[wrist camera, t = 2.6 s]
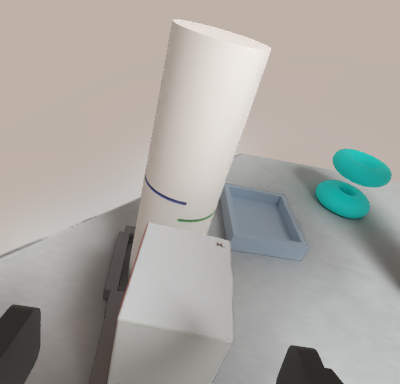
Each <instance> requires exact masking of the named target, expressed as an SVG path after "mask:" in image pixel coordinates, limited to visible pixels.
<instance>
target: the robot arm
mask: <svg viewBox="0 0 400 384" xmlns="http://www.w3.org/2000/svg"><path fill="white" fill-rule="evenodd" d="M40 320H41V313H40V309H39V308H35V307H28V306H21V305H12V306H11V307H9V309H8V310H7V311H6V312H5V313H4V315H3V316H2V317H1V318H0V384H24V382H25V381H26V379H27V377H28V375H29V374H30V372H31V370H32V368H33V366H34V364H35V362H36V360H37V357H38V354H39V350H40ZM276 384H343V383H342V381H341V380H340V379H339V378H338V377H337V375H336V374H335V373H334V372H333V370H332V369H328V368H324V366H323V364H322V361H321V359H320V357H319V354H318V352H317V351H316V350H315V349H314V348H307V347H300V346H293V345H291V346H290V347H289V348H288V351H287V353H286V356H285V359H284V361H283V364H282V366H281V369H280V372H279V374H278V377H277V381H276Z"/></svg>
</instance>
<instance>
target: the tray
mask: <svg viewBox="0 0 400 384" xmlns="http://www.w3.org/2000/svg"><path fill="white" fill-rule="evenodd" d="M220 203H221V209H222V216H223V222H224V228H225V234H226V240H229V241H230V242H231V250H235V251H241V252H248V253H254V254H260V255H267V256H273V257H279V258H285V259H292V260H298V261H301V260H302V258H303V257H304V255H305V253H306V252H307V250H308V248H309V246H308V244H307V242H306V240H305V238H304V236H303V234H302V231H301V229H300V227H299V225H298V223H297V221H296V219H295V217H294V214H293V212H292V210H291V208H290V206H289V204H288V202H287V199H286V197H285V195H284V194H279V193H274V192H269V191H264V190H258V189H253V188H248V187H243V186H238V185H233V184H228V183H225V184H224V187H223V190H222V193H221V196H220Z"/></svg>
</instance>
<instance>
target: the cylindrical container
mask: <svg viewBox="0 0 400 384" xmlns="http://www.w3.org/2000/svg"><path fill="white" fill-rule="evenodd" d="M270 52H271V48H270V47H269V46H267V45H265V44H263V43H260V42H258V41H256V40H253V39H250V38H248V37H245V36H242V35H239V34H236V33H233V32H230V31H226V30H223V29H219V28H216V27H212V26H208V25H204V24H200V23H196V22H191V21H186V20H177V19H174V20H173V21H172V26H171V32H170V38H169V44H168V49H167V55H166V60H165V66H164V71H163V77H162V82H161V88H160V94H159V100H158V105H157V111H156V116H155V122H154V128H153V133H152V138H151V145H150V150H149V156H148V161H147V166H146V173H145V178H144V183H143V189H142V194H141V200H140V206H139V211H138V217H137V222H136V228H135V234H134V239H133V245H132V251H131V256H130V262H129V267H128V278H130V275H131V271H132V268H133V265H134V262H135V259H136V256H137V253H138V250H139V246H140V243H141V240H142V237H143V234H144V231H145V228H146V225H147V223H148V222H151V223H155V224H160V225H165V226H170V227H174V228H178V229H183V230H188V231H192V232H196V233H201V234H205V235H207V233H208V230H209V228H210V225H211V222H212V219H213V216H214V213H215V210H216V207H217V205H218V202H219V199H220V196H221V193H222V190H223V187H224V184H225V182H226V179H227V176H228V173H229V170H230V167H231V164H232V161H233V158H234V156H235V153H236V150H237V147H238V144H239V141H240V138H241V135H242V133H243V130H244V126H245V124H246V121H247V118H248V115H249V112H250V110H251V107H252V104H253V101H254V98H255V95H256V92H257V89H258V86H259V83H260V80H261V77H262V75H263V72H264V69H265V66H266V63H267V60H268V57H269V55H270Z"/></svg>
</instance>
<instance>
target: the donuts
mask: <svg viewBox="0 0 400 384" xmlns="http://www.w3.org/2000/svg"><path fill="white" fill-rule="evenodd" d="M333 164H334V166H335V168H336V170H337V171H338V172H339V173H340V174H341V175H342V176H344V177H345V178H347V179H348V180H350V181H352V182H354V183H356V184H359V185H362V186H366V187H381V186H384V185H386V184H387V183H388V182H389V181H390V179H391V172H390V169H389V168H388V167H387V166H386V165H385V164H384V163H383V162H381V161H380V160H378V159H376V158H374V157H373V156H371V155H368V154H366V153H363V152H360V151H357V150H352V149H343V150H339V151H337V152H336V153H335V155H334V156H333ZM316 196H317V198H318V200H319V201H320V203H321V204H322V205H323V206H325V207H326V208H327V209H329V210H330V211H332V212H334V213H336V214H338V215H340V216H343V217H347V218H354V219H355V218H361V217H364V216H365V215H366V214H367V213H368V212H369V208H370V205H369V201H368V199H367V198H366V196H365V195H364V194H363V193H362V192H361V191H360V190H358V189H357V188H355V187H354V186H352V185H350V184H348V183H345V182H342V181H338V180H326V181H323V182H321V183H320V184H319V185H318V186H317V188H316Z"/></svg>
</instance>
